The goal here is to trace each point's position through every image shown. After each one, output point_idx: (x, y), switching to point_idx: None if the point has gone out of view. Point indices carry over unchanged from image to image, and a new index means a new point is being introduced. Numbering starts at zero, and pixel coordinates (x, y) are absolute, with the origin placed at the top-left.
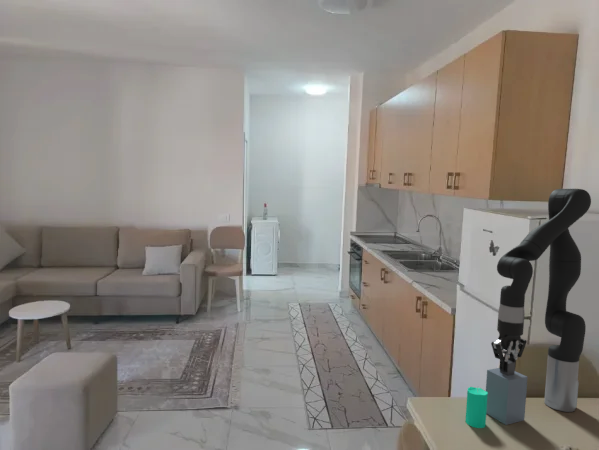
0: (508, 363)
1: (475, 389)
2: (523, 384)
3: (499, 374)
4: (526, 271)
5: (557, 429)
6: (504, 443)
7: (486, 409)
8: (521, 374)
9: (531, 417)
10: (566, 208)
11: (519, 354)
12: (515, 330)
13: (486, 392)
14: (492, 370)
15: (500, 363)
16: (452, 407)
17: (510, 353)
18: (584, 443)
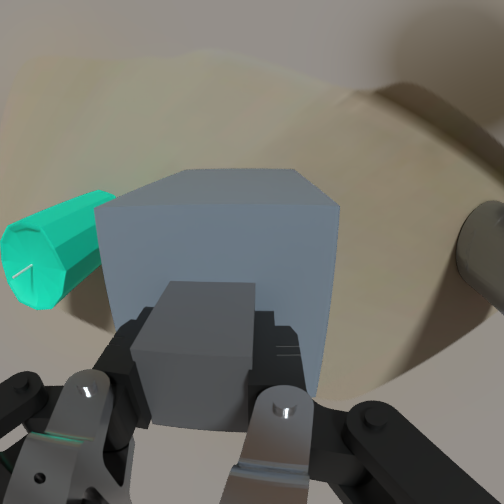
0: (155, 422)
1: (37, 237)
2: None
3: (131, 311)
4: None
5: (338, 341)
6: (114, 331)
7: (89, 273)
8: (313, 365)
9: (336, 265)
10: None
11: (335, 490)
12: None
13: (58, 291)
14: (130, 231)
15: (103, 362)
16: (97, 105)
17: (266, 450)
18: (329, 397)
